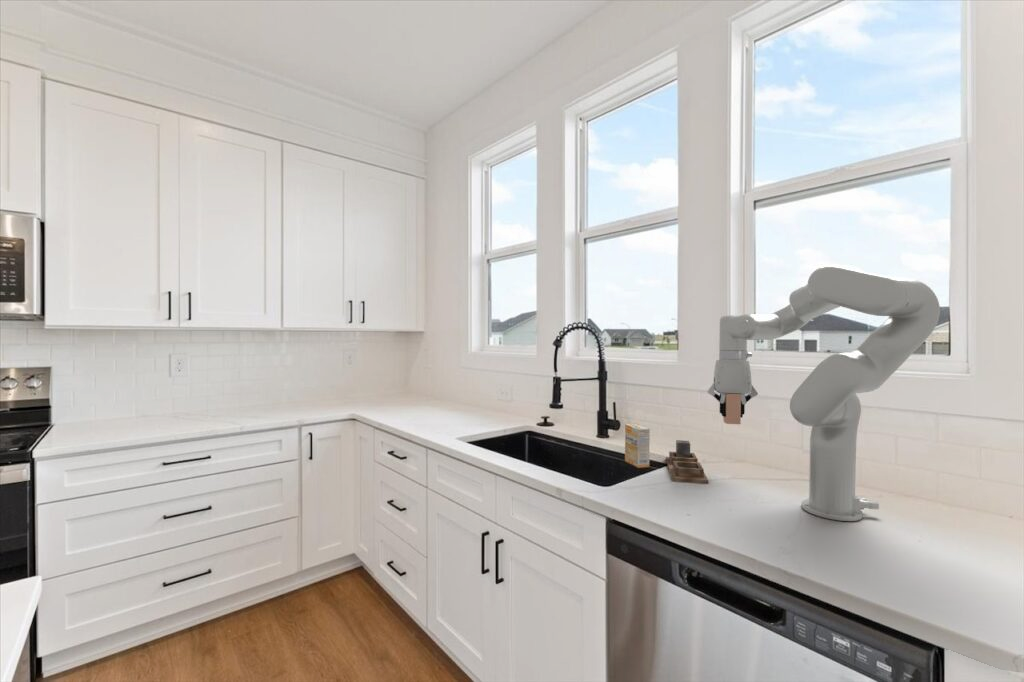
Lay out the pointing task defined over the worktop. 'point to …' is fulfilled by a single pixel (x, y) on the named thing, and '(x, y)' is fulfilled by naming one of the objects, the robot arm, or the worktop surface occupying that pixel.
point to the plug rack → (685, 464)
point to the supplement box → (637, 445)
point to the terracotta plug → (733, 409)
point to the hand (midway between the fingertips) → (731, 415)
